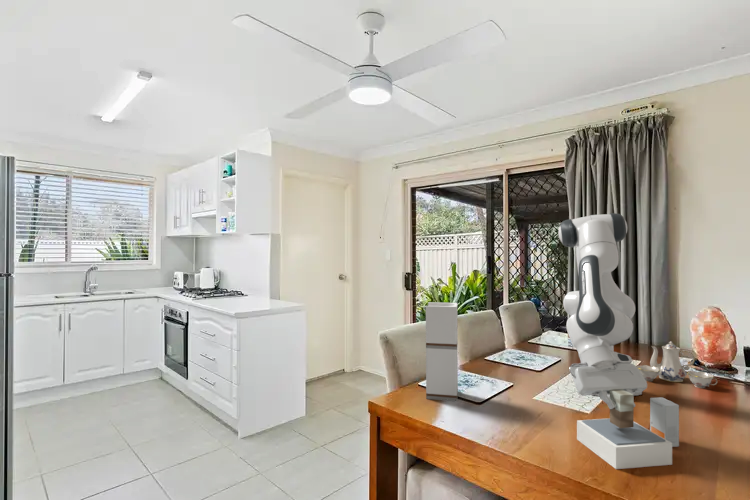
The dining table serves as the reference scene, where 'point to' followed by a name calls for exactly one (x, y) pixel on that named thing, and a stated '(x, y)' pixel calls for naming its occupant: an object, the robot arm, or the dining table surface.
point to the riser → (624, 444)
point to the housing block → (622, 408)
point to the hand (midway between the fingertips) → (623, 407)
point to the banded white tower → (441, 351)
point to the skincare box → (665, 419)
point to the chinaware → (673, 368)
